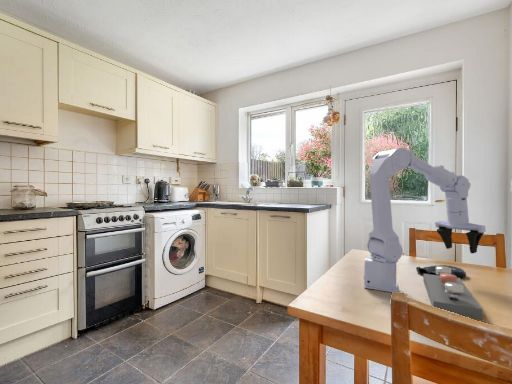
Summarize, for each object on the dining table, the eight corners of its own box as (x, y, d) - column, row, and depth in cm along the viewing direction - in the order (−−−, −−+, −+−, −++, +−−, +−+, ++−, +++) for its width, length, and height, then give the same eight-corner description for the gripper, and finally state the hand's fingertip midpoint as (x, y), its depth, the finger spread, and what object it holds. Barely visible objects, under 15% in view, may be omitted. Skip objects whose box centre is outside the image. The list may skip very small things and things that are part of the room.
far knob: (436, 281, 84) (436, 268, 84) (434, 277, 88) (435, 265, 88) (452, 283, 83) (452, 270, 82) (449, 279, 86) (449, 267, 86)
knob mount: (433, 310, 70) (433, 301, 70) (423, 280, 91) (423, 273, 91) (482, 319, 65) (482, 309, 65) (459, 285, 87) (459, 278, 87)
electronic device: (441, 287, 90) (473, 276, 94) (437, 270, 90) (469, 260, 95) (417, 281, 99) (447, 271, 103) (414, 266, 99) (444, 257, 104)
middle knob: (440, 290, 77) (441, 276, 77) (438, 285, 81) (438, 272, 81) (458, 292, 75) (458, 278, 75) (454, 287, 79) (455, 274, 79)
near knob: (446, 301, 70) (446, 286, 70) (443, 295, 74) (443, 281, 74) (465, 304, 68) (465, 288, 68) (461, 298, 72) (461, 283, 72)
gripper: (489, 210, 85) (493, 251, 86) (442, 207, 99) (446, 243, 99) (476, 214, 82) (480, 257, 83) (429, 211, 96) (433, 248, 97)
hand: (460, 250), depth 91 cm, fingers open, 7 cm apart
